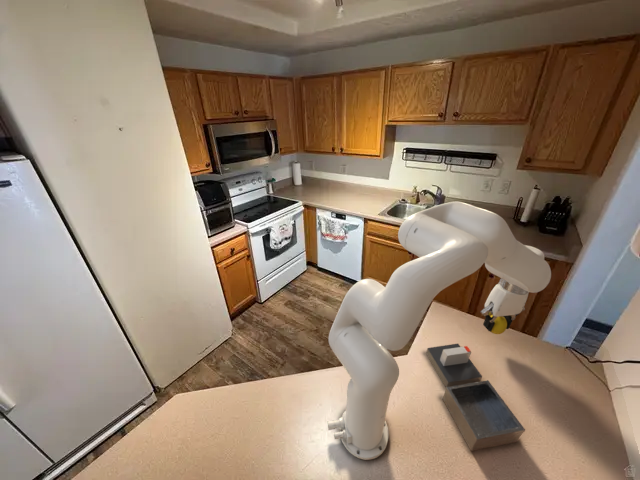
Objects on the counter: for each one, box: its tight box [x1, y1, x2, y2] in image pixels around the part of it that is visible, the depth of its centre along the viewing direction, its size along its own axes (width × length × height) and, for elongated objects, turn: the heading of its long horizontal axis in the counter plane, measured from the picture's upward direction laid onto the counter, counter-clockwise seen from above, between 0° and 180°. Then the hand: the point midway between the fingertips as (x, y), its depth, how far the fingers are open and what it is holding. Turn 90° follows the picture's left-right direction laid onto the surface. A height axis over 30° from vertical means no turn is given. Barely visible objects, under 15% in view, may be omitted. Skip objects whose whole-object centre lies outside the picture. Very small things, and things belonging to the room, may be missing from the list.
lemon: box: [489, 314, 507, 335], centre depth 86 cm, size 6×6×8 cm
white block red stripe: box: [440, 345, 472, 366], centre depth 80 cm, size 8×2×5 cm, turn 98°
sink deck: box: [425, 343, 483, 389], centre depth 82 cm, size 11×12×3 cm
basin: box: [442, 379, 526, 452], centre depth 68 cm, size 13×13×6 cm
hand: (495, 326), depth 87 cm, fingers closed on lemon, 5 cm apart
